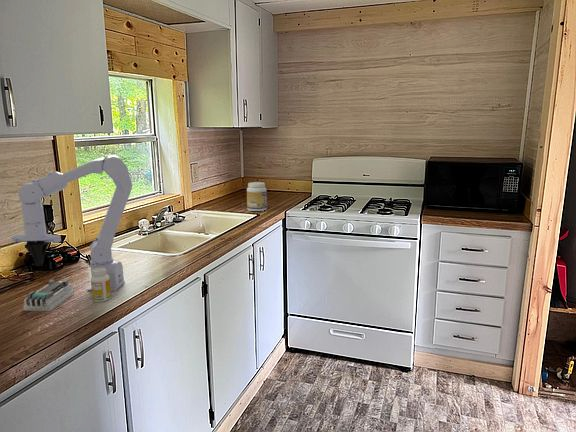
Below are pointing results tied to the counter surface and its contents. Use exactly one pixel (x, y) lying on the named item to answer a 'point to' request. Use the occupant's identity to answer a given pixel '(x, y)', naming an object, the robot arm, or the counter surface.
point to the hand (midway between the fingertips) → (39, 264)
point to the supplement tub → (256, 196)
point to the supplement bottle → (100, 285)
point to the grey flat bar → (47, 290)
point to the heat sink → (48, 298)
